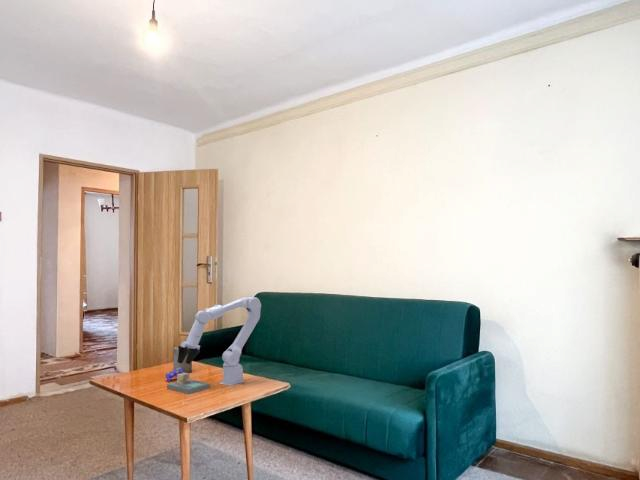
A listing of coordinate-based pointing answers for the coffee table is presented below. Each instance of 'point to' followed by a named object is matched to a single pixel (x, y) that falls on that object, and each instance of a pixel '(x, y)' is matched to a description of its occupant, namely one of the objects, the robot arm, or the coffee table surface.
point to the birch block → (182, 378)
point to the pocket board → (189, 386)
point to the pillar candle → (184, 365)
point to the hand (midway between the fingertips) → (183, 363)
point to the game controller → (173, 374)
